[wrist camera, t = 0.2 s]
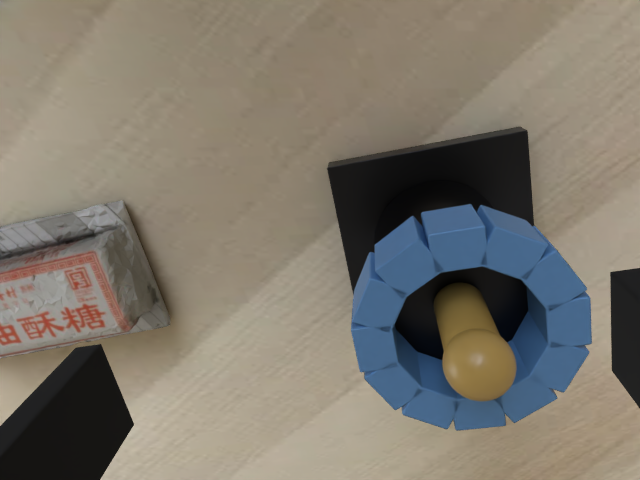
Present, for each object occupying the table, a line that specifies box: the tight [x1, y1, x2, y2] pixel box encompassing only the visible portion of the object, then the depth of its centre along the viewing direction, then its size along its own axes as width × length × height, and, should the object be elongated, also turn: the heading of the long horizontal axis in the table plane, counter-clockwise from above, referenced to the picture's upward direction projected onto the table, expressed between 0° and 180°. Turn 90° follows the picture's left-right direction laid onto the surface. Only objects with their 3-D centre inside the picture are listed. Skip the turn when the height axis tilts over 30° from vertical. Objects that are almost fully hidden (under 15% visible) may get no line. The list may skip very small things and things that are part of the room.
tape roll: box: [351, 204, 592, 431], centre depth 23 cm, size 10×10×3 cm
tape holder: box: [327, 127, 534, 401], centre depth 26 cm, size 12×12×16 cm
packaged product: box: [0, 201, 170, 359], centre depth 36 cm, size 18×5×10 cm
